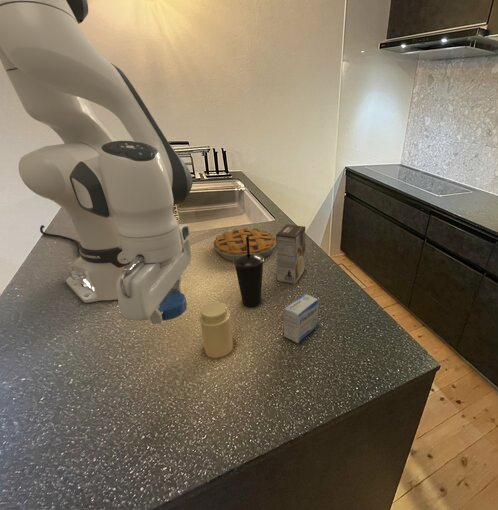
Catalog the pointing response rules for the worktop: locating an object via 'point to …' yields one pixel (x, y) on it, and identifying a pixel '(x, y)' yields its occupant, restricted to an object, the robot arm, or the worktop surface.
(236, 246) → the pie
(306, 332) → the medicine box
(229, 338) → the jar
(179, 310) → the lid
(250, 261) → the drinking cup
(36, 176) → the robot arm
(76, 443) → the worktop surface
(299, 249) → the coffee box
